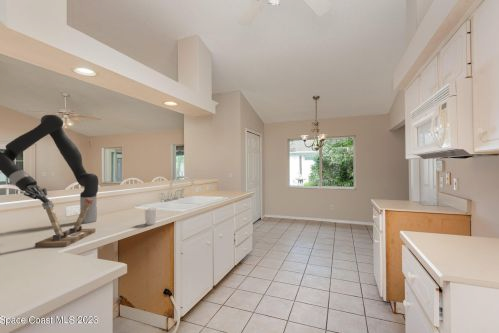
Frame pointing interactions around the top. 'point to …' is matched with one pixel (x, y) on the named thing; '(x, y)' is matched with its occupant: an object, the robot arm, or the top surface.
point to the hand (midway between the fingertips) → (47, 202)
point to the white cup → (151, 216)
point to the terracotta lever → (83, 212)
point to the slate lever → (53, 217)
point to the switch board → (65, 238)
